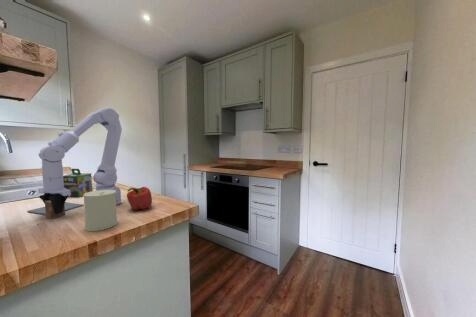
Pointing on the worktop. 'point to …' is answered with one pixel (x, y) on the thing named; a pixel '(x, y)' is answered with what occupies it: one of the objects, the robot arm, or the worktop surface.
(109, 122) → the robot arm
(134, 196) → the vegetable
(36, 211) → the mat
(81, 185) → the chalk box
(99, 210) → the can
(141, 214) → the worktop surface
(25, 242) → the worktop surface
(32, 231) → the worktop surface
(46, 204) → the block
